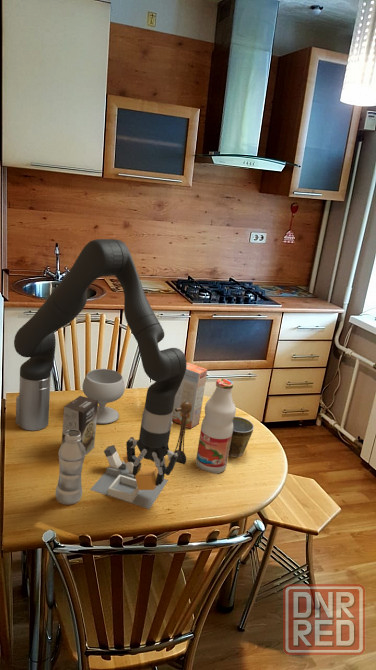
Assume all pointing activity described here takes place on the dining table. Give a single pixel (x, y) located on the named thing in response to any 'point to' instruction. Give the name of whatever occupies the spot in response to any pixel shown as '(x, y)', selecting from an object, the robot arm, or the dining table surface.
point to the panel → (126, 487)
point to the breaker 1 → (113, 457)
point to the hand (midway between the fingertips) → (147, 480)
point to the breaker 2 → (128, 464)
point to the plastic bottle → (70, 468)
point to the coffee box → (81, 420)
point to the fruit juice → (216, 429)
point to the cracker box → (190, 394)
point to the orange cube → (147, 478)
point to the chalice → (104, 392)
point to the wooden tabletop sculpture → (182, 430)
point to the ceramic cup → (240, 436)
